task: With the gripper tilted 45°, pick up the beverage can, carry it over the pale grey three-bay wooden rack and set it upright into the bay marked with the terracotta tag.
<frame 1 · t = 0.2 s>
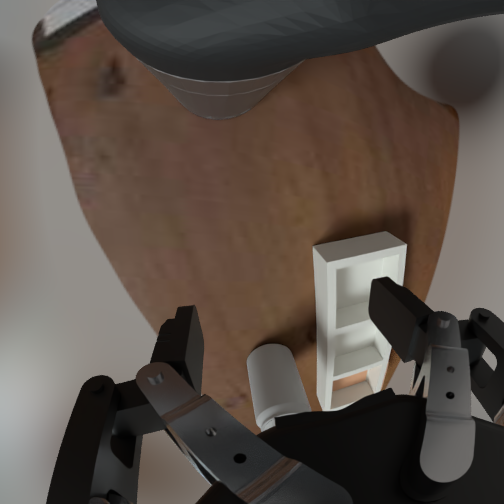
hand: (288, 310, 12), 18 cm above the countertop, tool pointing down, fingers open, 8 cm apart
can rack: (349, 329, 36), on the countertop
beverage can: (268, 355, 37), on the countertop
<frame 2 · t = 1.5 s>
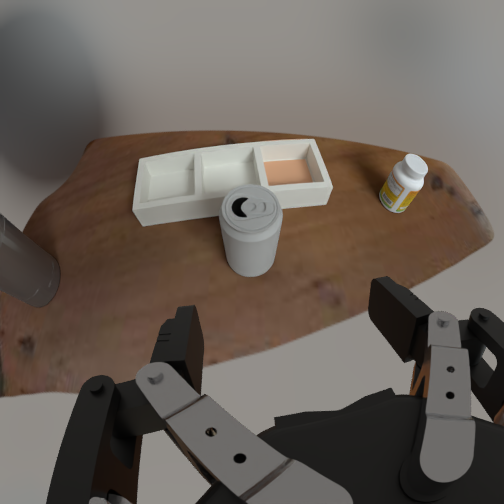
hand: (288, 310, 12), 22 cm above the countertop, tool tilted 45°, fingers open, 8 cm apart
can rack: (231, 187, 42), on the countertop
beverage can: (250, 257, 37), on the countertop
supplement bottle: (391, 201, 42), on the countertop
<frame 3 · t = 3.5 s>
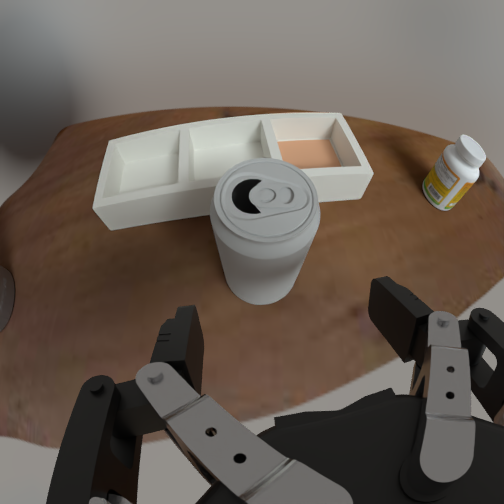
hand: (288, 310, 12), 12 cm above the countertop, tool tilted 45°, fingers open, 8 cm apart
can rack: (230, 175, 30), on the countertop
beverage can: (260, 274, 25), on the countertop
supplement bottle: (436, 195, 30), on the countertop
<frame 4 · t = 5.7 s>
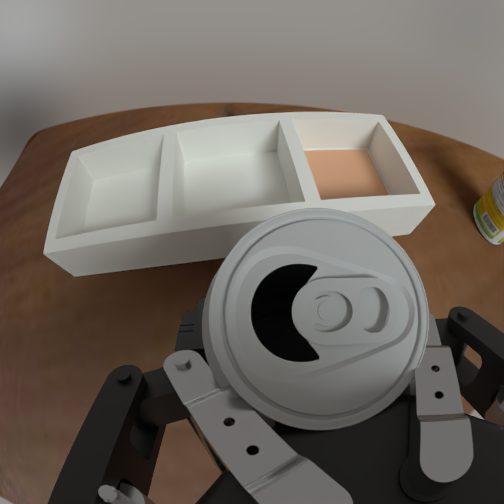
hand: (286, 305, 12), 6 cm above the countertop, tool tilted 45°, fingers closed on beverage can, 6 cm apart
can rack: (235, 198, 22), on the countertop
beverage can: (280, 351, 17), on the countertop, touching gripper
supplement bottle: (486, 224, 21), on the countertop
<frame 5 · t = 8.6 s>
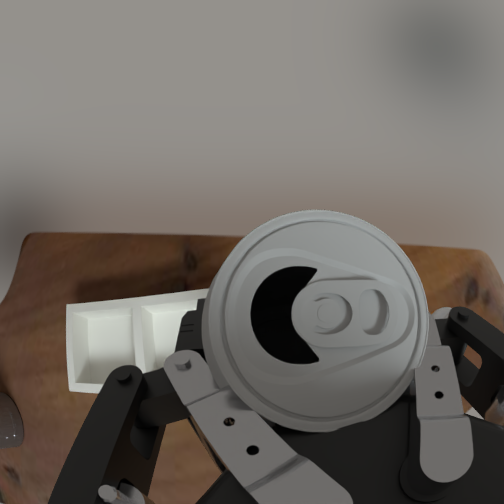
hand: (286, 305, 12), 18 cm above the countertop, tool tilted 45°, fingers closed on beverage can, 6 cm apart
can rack: (191, 346, 29), on the countertop
beverage can: (280, 352, 17), point 12 cm above the countertop, touching gripper
when the fingers open (8 cm above the countertop, at t = 11.3 s): beverage can drops 1 cm, resting on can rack.
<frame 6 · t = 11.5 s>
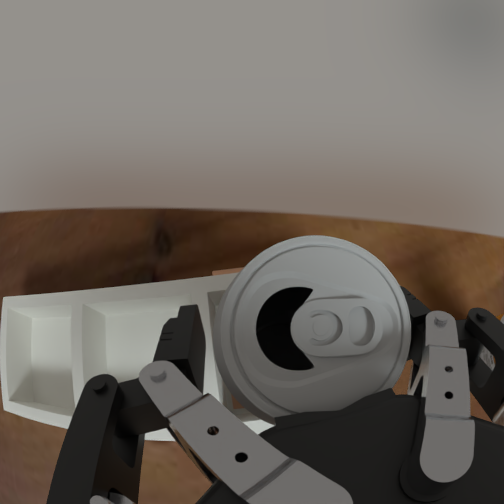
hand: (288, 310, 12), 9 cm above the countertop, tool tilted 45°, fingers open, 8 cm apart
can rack: (157, 365, 19), on the countertop
beverage can: (281, 355, 18), point 1 cm above the countertop, touching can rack
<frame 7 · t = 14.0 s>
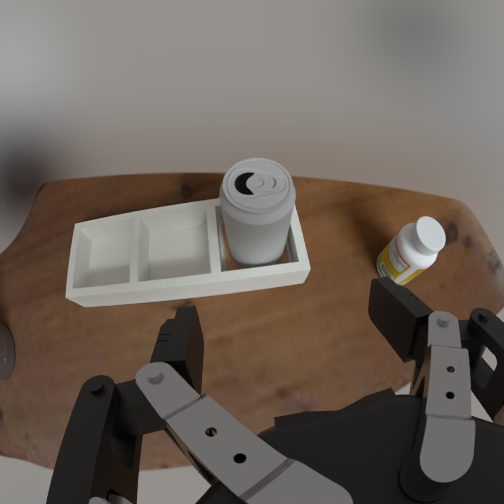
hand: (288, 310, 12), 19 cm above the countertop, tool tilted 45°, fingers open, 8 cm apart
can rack: (182, 259, 33), on the countertop
beverage can: (256, 247, 33), point 1 cm above the countertop, touching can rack
supplement bottle: (392, 268, 32), on the countertop
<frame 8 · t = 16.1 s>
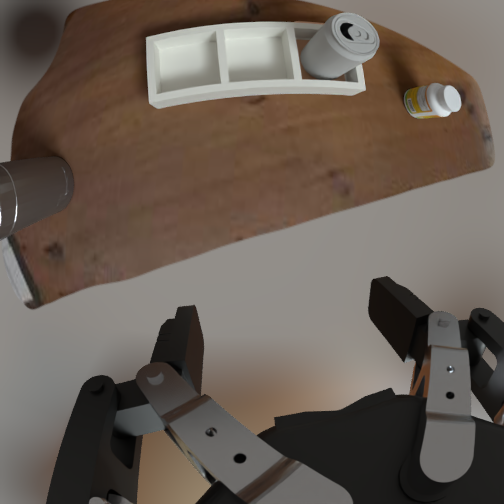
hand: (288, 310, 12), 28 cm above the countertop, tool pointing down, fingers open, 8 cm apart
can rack: (255, 63, 31), on the countertop
beverage can: (320, 62, 31), point 1 cm above the countertop, touching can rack
supplement bottle: (414, 103, 35), on the countertop
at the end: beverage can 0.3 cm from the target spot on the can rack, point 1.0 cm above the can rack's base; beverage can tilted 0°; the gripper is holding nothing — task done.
